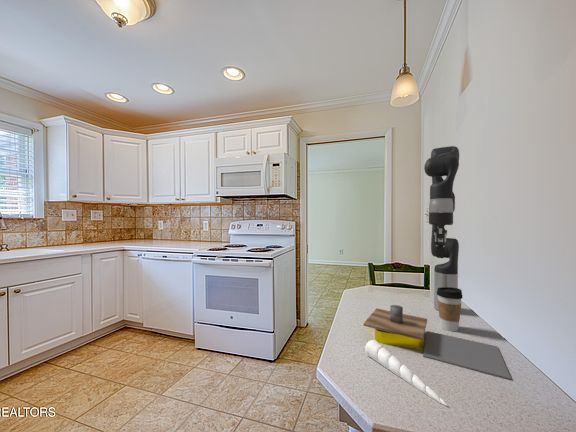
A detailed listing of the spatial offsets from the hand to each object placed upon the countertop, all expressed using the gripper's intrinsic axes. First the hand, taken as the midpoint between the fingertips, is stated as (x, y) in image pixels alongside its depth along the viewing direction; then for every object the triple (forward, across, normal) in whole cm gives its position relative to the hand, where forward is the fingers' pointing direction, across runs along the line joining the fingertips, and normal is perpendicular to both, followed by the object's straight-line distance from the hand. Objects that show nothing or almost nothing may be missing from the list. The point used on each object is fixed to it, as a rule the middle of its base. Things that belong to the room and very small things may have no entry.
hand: (440, 256), depth 90 cm
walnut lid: (+24, +10, -13) cm, 29 cm away
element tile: (+29, +10, -13) cm, 33 cm away
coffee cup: (+28, -9, +3) cm, 30 cm away
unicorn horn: (+29, +33, -8) cm, 45 cm away
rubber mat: (+28, +10, +6) cm, 30 cm away
